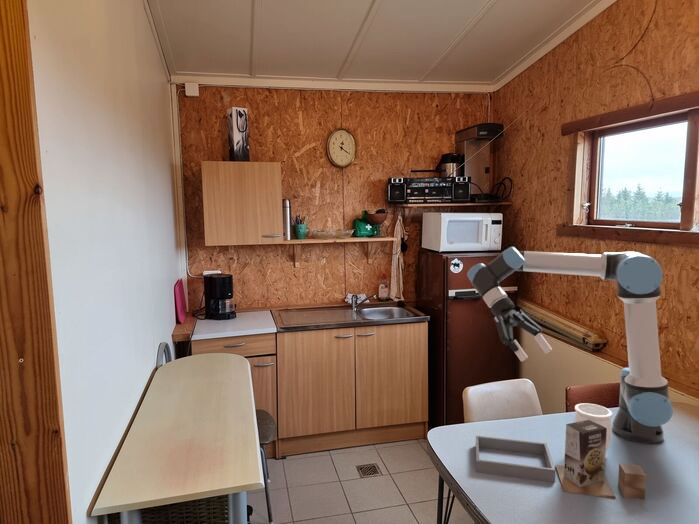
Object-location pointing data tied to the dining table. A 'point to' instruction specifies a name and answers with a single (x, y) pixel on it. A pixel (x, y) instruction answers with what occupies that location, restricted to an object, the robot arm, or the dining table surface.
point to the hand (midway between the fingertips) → (537, 355)
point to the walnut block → (632, 481)
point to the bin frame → (515, 469)
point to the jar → (595, 417)
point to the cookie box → (585, 453)
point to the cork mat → (593, 489)
